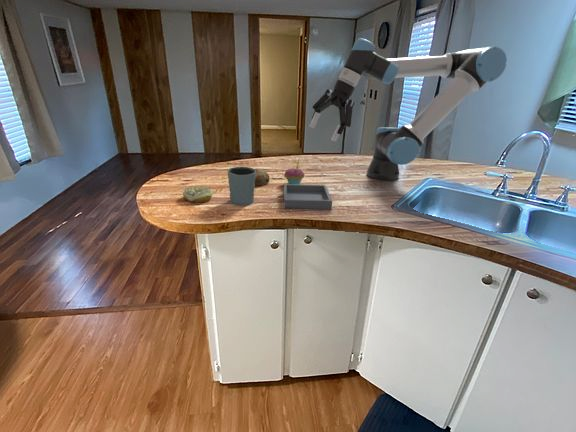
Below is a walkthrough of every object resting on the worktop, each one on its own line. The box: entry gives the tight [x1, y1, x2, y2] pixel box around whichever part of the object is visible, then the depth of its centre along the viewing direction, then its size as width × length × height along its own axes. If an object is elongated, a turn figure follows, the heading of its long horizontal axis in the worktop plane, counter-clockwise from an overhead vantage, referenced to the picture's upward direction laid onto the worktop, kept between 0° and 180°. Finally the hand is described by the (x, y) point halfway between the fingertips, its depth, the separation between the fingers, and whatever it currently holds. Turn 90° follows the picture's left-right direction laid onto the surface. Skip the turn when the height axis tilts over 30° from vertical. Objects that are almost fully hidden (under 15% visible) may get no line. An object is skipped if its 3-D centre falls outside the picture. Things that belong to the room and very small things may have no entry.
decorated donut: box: [182, 185, 213, 204], centre depth 116 cm, size 10×11×4 cm
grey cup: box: [227, 166, 256, 207], centre depth 113 cm, size 10×10×12 cm
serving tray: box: [283, 183, 333, 211], centre depth 117 cm, size 17×17×4 cm
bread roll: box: [254, 168, 270, 187], centre depth 135 cm, size 10×10×8 cm
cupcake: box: [283, 159, 305, 184], centre depth 132 cm, size 9×8×12 cm
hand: (322, 134), depth 127 cm, fingers open, 13 cm apart
